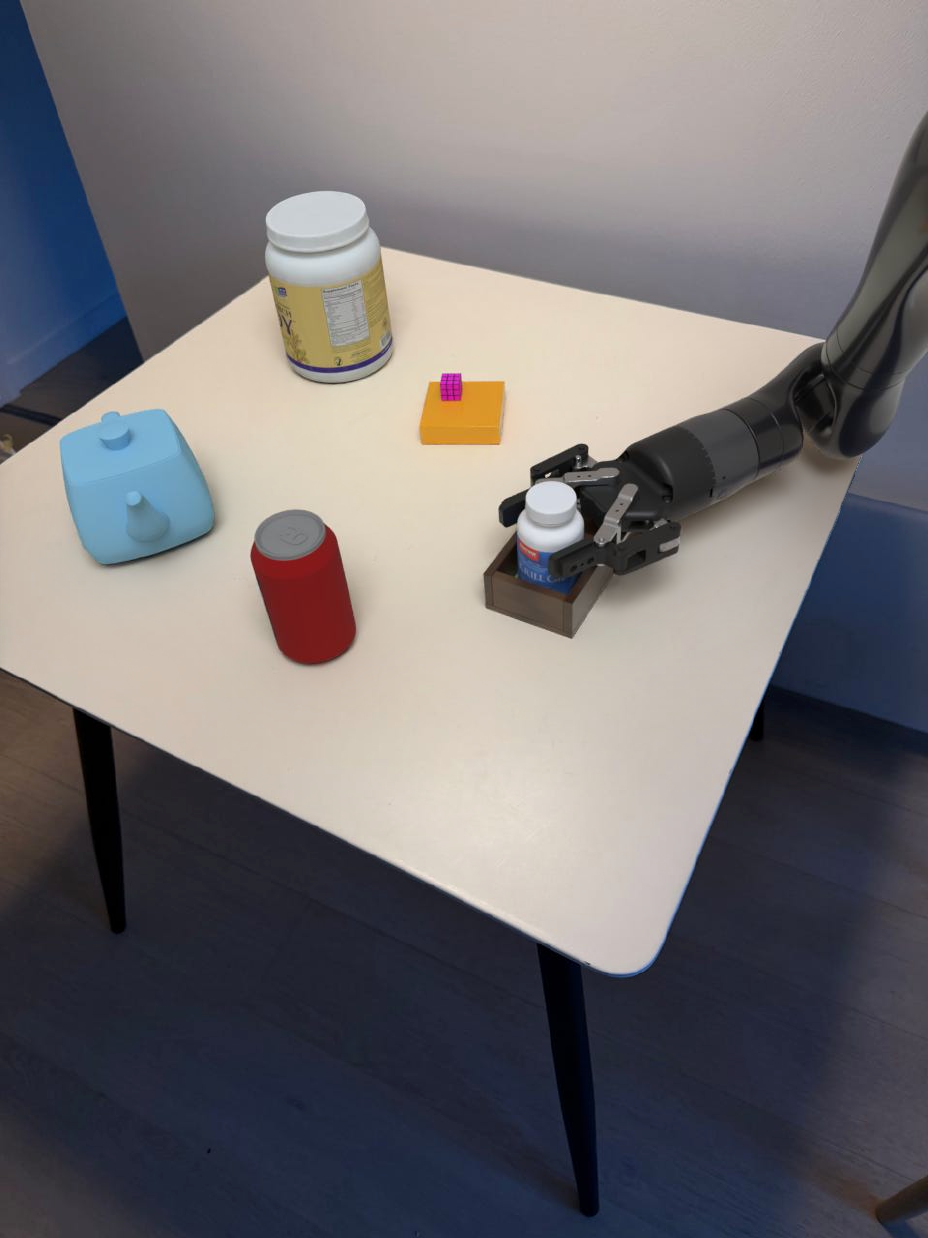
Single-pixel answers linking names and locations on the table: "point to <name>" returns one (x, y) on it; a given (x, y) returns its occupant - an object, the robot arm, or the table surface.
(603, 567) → the wooden compartment box
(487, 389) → the flat orange square base
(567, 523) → the pill bottle
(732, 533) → the table surface
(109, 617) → the table surface
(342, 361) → the supplement tub
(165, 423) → the teapot
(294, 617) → the beverage can
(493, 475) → the table surface
